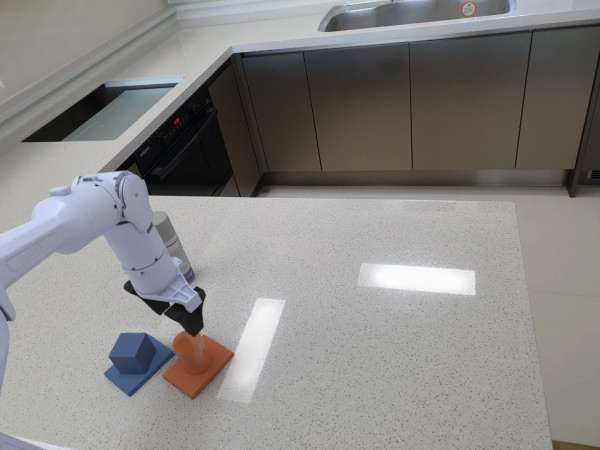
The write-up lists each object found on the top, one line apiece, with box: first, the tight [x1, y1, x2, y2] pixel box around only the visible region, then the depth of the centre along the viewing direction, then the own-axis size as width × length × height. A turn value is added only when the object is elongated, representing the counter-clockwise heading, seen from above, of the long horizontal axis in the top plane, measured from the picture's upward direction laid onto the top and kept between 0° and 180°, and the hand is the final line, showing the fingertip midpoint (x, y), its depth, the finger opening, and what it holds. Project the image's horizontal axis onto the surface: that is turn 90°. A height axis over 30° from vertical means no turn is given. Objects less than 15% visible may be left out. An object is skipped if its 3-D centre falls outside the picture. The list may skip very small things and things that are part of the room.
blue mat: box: [103, 333, 176, 397], centre depth 74 cm, size 9×7×1 cm
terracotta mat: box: [161, 333, 235, 400], centre depth 72 cm, size 9×7×1 cm
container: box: [152, 210, 196, 285], centre depth 84 cm, size 5×5×15 cm
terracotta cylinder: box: [171, 330, 211, 375], centre depth 70 cm, size 4×4×6 cm
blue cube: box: [107, 332, 156, 374], centre depth 72 cm, size 4×4×4 cm
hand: (180, 320), depth 67 cm, fingers open, 7 cm apart
